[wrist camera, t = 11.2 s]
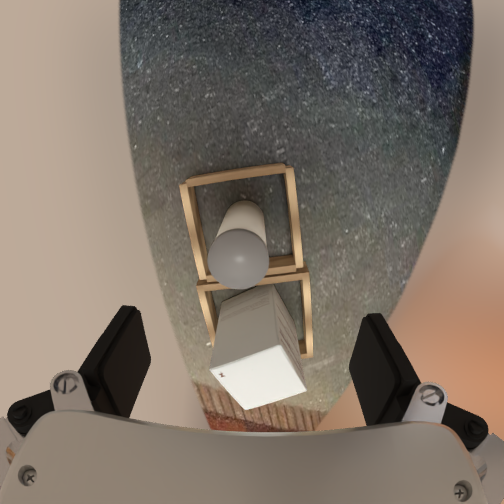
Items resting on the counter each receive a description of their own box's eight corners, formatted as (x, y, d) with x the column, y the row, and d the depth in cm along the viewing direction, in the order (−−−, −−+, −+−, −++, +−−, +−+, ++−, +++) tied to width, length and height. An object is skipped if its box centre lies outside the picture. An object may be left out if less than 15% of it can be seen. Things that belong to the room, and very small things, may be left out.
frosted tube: (224, 199, 32) (206, 232, 21) (265, 199, 32) (270, 233, 21) (224, 238, 34) (208, 288, 22) (264, 239, 34) (268, 289, 22)
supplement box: (246, 341, 39) (243, 412, 27) (220, 300, 37) (206, 369, 25) (296, 322, 38) (308, 392, 26) (273, 278, 35) (279, 344, 24)
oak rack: (180, 178, 31) (172, 182, 28) (294, 161, 30) (298, 163, 27) (220, 352, 40) (218, 366, 37) (309, 343, 39) (313, 357, 36)
